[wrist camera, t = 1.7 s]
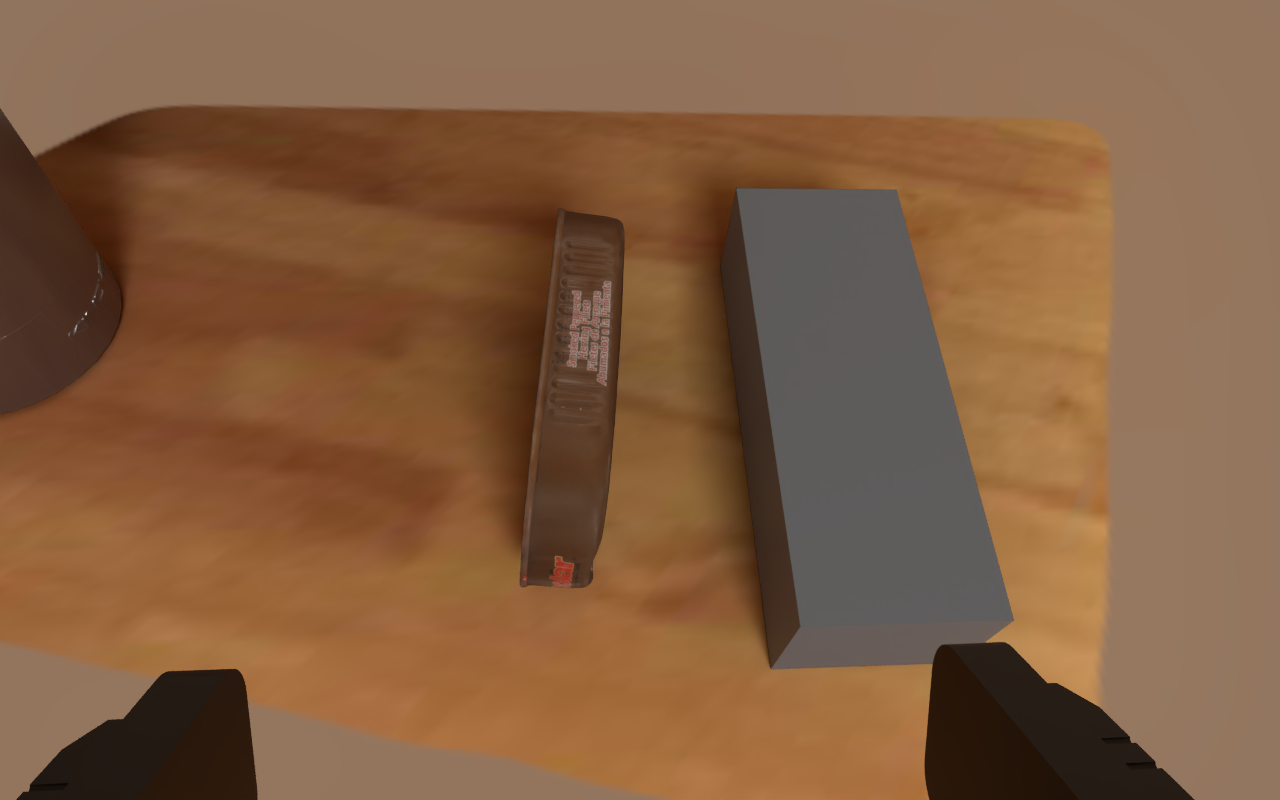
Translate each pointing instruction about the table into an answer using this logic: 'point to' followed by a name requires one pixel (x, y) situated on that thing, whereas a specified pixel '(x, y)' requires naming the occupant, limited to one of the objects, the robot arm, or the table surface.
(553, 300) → the tin
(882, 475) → the base brick
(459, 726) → the table surface
